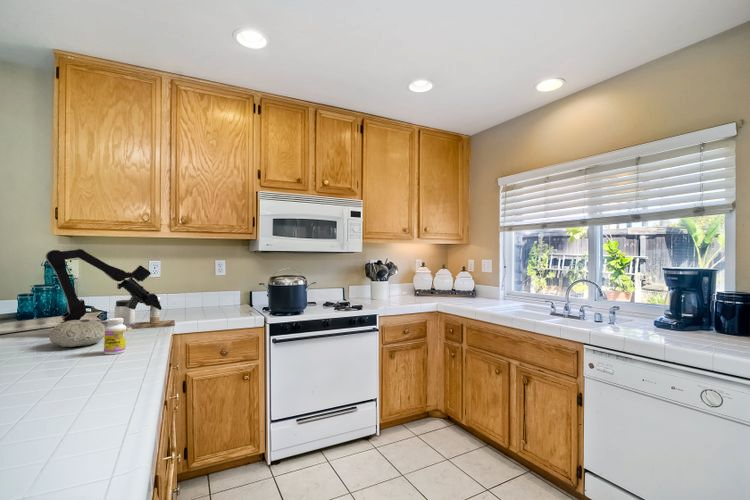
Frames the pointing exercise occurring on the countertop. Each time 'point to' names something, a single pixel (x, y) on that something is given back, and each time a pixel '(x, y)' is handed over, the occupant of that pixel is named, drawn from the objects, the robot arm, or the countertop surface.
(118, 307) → the jar
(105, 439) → the countertop surface
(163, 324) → the board
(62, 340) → the grey rock
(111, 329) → the supplement bottle
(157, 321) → the sprinkles bottle
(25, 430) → the countertop surface
